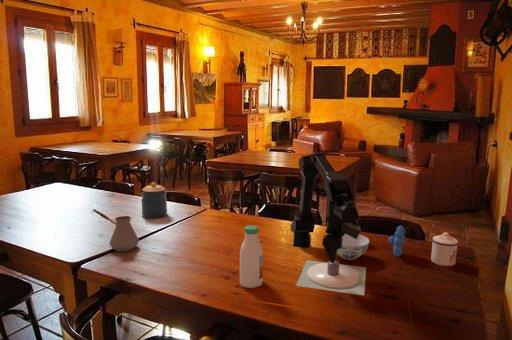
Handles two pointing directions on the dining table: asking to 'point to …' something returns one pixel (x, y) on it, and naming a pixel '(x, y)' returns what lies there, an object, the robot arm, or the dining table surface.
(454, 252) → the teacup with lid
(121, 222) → the coffee pot
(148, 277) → the dining table surface
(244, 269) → the milk bottle
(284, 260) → the dining table surface
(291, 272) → the dining table surface
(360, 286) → the mat
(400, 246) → the blue lumpy piece
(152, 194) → the canister
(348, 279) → the lid
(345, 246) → the chinaware
